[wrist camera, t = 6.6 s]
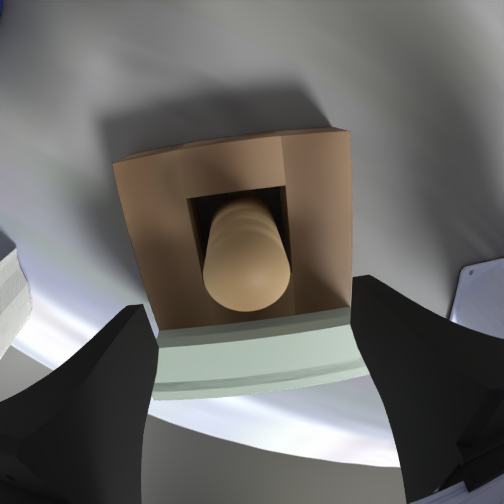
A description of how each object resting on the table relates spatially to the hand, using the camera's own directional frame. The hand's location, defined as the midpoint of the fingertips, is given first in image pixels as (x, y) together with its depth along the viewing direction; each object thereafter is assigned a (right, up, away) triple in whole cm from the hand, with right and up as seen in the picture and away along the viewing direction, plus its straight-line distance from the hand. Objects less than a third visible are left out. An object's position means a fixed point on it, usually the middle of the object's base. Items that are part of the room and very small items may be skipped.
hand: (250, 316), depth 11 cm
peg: (-1, +4, +9) cm, 10 cm away
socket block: (-1, +4, +9) cm, 10 cm away
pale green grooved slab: (0, 0, +11) cm, 11 cm away
